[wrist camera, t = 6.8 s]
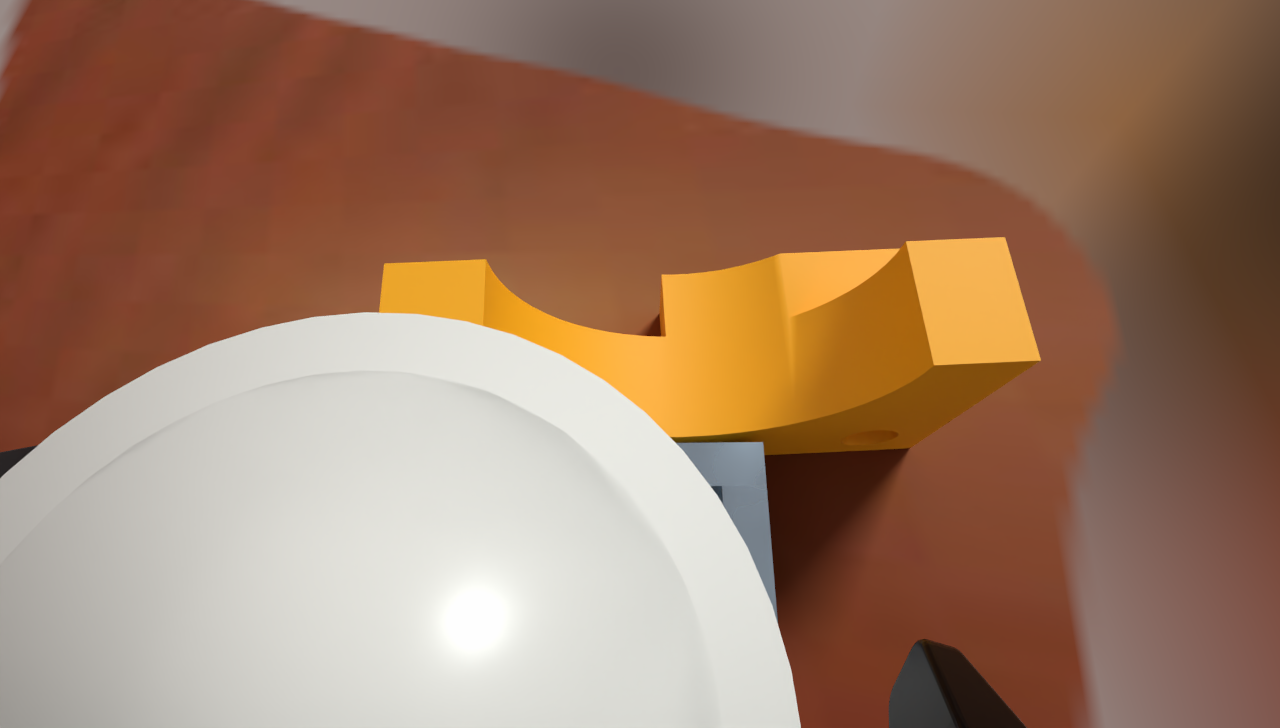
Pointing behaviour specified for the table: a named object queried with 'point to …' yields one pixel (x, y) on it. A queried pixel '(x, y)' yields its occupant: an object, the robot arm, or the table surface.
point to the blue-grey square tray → (741, 496)
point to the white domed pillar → (377, 548)
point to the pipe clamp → (784, 341)
